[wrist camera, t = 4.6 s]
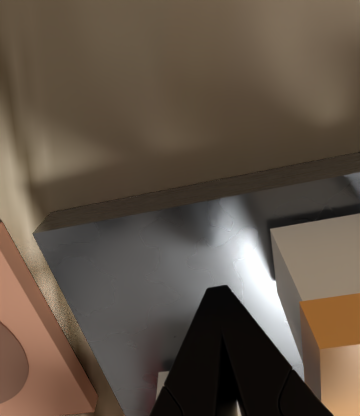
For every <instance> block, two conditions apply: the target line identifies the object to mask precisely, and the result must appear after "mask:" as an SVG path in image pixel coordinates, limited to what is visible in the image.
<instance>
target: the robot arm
mask: <svg viewBox="0 0 360 416" xmlns="http://www.w3.org/2000/svg"><path fill="white" fill-rule="evenodd" d="M237 402H238V405H239V409H240V412H241V416H334V415H333V414H332V413H331V412H330V411H329V410H328V409H327V408H326V406H325V405H324V404H323V403H322V402H321V401H320V400H319V399H318V398H317V396H316V395H315V394H314V393H313V392H312V390H311V389H310V388H309V387H308V386H307V385H306V383H305V382H304V381H303V380H302V378H301V377H300V376H299V375H298V373H297V372H296V371H295V370H294V369H293V367H292V366H291V365H290V363H289V362H288V361H287V360H286V358H285V357H284V356H283V355H282V353H281V352H280V351H279V349H278V348H277V347H276V346H275V344H274V343H273V342H272V341H271V339H270V338H269V337H268V335H267V334H266V333H265V332H264V330H263V329H262V328H261V327H260V325H259V324H258V323H257V322H256V320H255V319H254V318H253V316H252V315H251V314H250V313H249V311H248V310H247V309H246V308H245V306H244V305H243V304H242V303H241V301H240V300H239V299H238V297H237V296H236V295H235V294H234V292H233V291H232V290H231V289H230V287H229V286H228V285H221V286H215V287H209V288H207V289H206V291H205V293H204V295H203V298H202V300H201V302H200V304H199V307H198V309H197V311H196V313H195V315H194V318H193V320H192V322H191V324H190V327H189V329H188V331H187V333H186V335H185V338H184V340H183V342H182V344H181V346H180V349H179V351H178V353H177V355H176V358H175V360H174V362H173V364H172V366H171V369H170V371H169V373H168V375H167V378H166V380H165V382H164V386H162V388H161V390H160V393H159V395H158V397H157V399H156V402H155V404H154V406H153V408H152V410H151V412H150V414H149V416H238V411H237Z"/></svg>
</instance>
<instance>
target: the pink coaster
mask: <svg viewBox="0 0 360 416" xmlns="http://www.w3.org/2000/svg"><path fill="white" fill-rule="evenodd" d="M97 399H98V395H97V393H96V391H95V390H94V388H93V386H92V384H91V382H90V381H89V379H88V377H87V375H86V373H85V371H84V370H83V368H82V366H81V364H80V362H79V361H78V359H77V357H76V355H75V353H74V352H73V350H72V348H71V346H70V344H69V342H68V341H67V339H66V337H65V335H64V333H63V332H62V330H61V328H60V326H59V324H58V322H57V321H56V319H55V317H54V315H53V313H52V312H51V310H50V308H49V306H48V304H47V302H46V301H45V299H44V297H43V295H42V293H41V292H40V290H39V288H38V286H37V284H36V282H35V281H34V279H33V277H32V275H31V273H30V272H29V270H28V268H27V266H26V264H25V262H24V261H23V259H22V257H21V255H20V253H19V252H18V250H17V248H16V246H15V244H14V242H13V241H12V239H11V237H10V235H9V233H8V232H7V230H6V228H5V226H4V224H3V223H2V222H0V416H61V415H70V414H79V413H89V412H94V411H95V407H96V403H97Z"/></svg>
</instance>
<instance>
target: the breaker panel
mask: <svg viewBox="0 0 360 416" xmlns="http://www.w3.org/2000/svg"><path fill="white" fill-rule="evenodd" d="M359 213H360V152H358V153H353V154H348V155H343V156H338V157H332V158H327V159H322V160H317V161H312V162H307V163H302V164H297V165H291V166H286V167H281V168H276V169H271V170H266V171H261V172H256V173H251V174H245V175H240V176H235V177H230V178H225V179H220V180H215V181H210V182H205V183H199V184H194V185H189V186H184V187H179V188H174V189H169V190H164V191H159V192H153V193H148V194H143V195H138V196H133V197H128V198H123V199H118V200H113V201H107V202H102V203H97V204H92V205H87V206H82V207H77V208H72V209H67V210H61V211H56V212H51V213H50V214H49V215H48V216H47V217H46V218H45V220H44V221H43V222H42V223H41V224H40V226H39V227H38V228H37V229H36V230H35V231H34V233H33V236H34V238H35V240H36V242H37V244H38V246H39V248H40V250H41V251H42V253H43V255H44V257H45V259H46V261H47V263H48V265H49V267H50V269H51V271H52V273H53V275H54V277H55V279H56V281H57V283H58V285H59V287H60V289H61V291H62V293H63V295H64V297H65V299H66V300H67V302H68V304H69V306H70V308H71V310H72V312H73V314H74V316H75V318H76V320H77V322H78V324H79V326H80V328H81V330H82V332H83V334H84V336H85V338H86V340H87V342H88V344H89V346H90V347H91V349H92V351H93V353H94V355H95V357H96V359H97V361H98V363H99V365H100V367H101V369H102V371H103V373H104V375H105V377H106V379H107V381H108V383H109V385H110V387H111V389H112V391H113V393H114V395H115V396H116V398H117V400H118V402H119V404H120V406H121V408H122V410H123V412H124V414H125V416H149V414H150V412H151V410H152V408H153V406H154V404H155V402H156V394H157V383H158V373H159V372H166V371H170V369H171V366H172V364H173V362H174V360H175V358H176V355H177V353H178V351H179V349H180V346H181V344H182V342H183V340H184V338H185V335H186V333H187V331H188V329H189V327H190V324H191V322H192V320H193V318H194V315H195V313H196V311H197V309H198V307H199V304H200V302H201V300H202V298H203V295H204V293H205V291H206V289H207V288H209V287H215V286H221V285H228V286H229V287H230V289H231V290H232V291H233V292H234V294H235V295H236V296H237V297H238V299H239V300H240V301H241V303H242V304H243V305H244V306H245V308H246V309H247V310H248V311H249V313H250V314H251V315H252V316H253V318H254V319H255V320H256V322H257V323H258V324H259V325H260V327H261V328H262V329H263V330H264V332H265V333H266V334H267V335H268V337H269V338H270V339H271V341H272V342H273V343H274V344H275V346H276V347H277V348H278V349H279V351H280V352H281V353H282V355H283V356H284V357H285V358H286V360H287V361H288V362H289V363H290V365H291V366H292V367H293V369H294V370H295V371H296V372H297V373H298V375H299V376H300V377H301V378H302V380H303V381H304V366H303V363H302V360H301V358H300V355H299V352H298V349H297V346H296V344H295V341H294V338H293V335H292V333H291V330H290V327H289V324H288V321H287V319H286V316H285V313H284V310H283V308H282V305H281V302H280V299H279V296H278V294H277V288H276V279H275V270H274V260H273V251H272V242H271V233H270V229H272V228H278V227H284V226H290V225H296V224H301V223H307V222H313V221H319V220H325V219H330V218H336V217H342V216H348V215H354V214H359ZM304 382H305V381H304Z"/></svg>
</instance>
